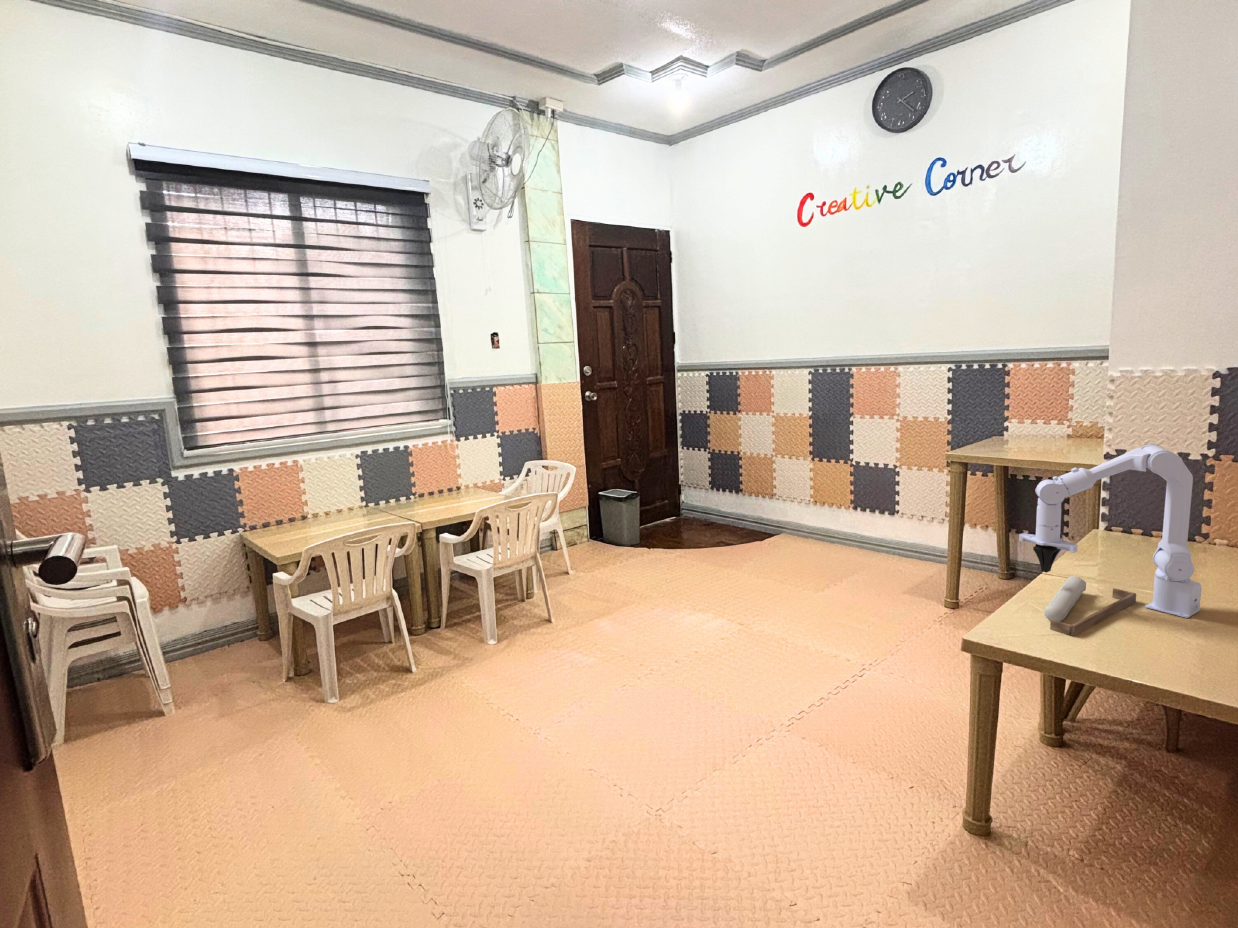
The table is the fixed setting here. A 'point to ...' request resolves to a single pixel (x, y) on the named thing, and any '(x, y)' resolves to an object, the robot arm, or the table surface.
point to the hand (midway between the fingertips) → (1046, 571)
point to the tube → (1065, 598)
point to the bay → (1096, 614)
